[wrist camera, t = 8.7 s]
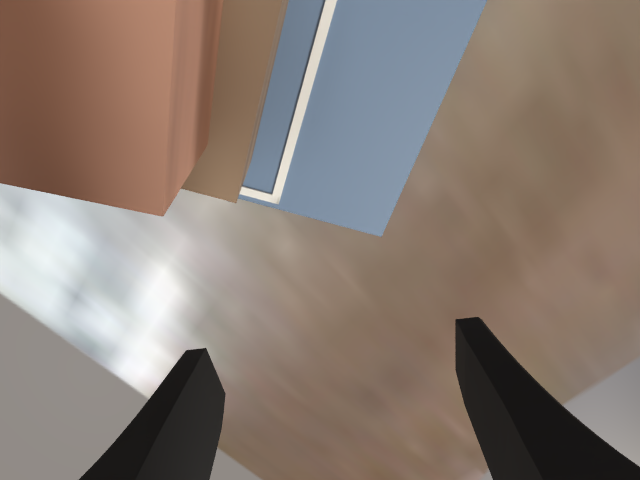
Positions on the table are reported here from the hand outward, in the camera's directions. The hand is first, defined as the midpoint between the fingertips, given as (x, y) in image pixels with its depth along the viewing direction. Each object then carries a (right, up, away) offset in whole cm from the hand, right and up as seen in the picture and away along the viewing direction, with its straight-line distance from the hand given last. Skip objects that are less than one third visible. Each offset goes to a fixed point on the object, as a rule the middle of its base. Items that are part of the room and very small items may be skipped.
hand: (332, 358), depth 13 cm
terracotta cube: (-6, +9, +1) cm, 11 cm away
